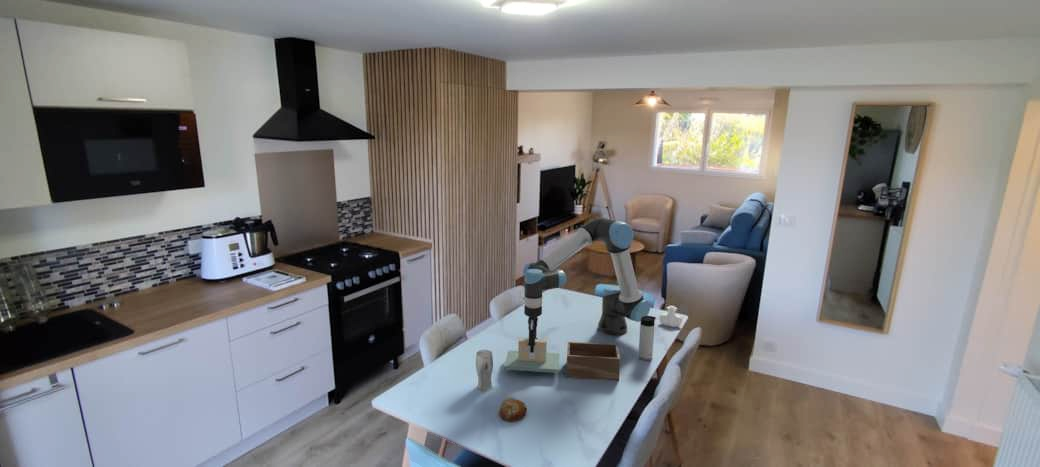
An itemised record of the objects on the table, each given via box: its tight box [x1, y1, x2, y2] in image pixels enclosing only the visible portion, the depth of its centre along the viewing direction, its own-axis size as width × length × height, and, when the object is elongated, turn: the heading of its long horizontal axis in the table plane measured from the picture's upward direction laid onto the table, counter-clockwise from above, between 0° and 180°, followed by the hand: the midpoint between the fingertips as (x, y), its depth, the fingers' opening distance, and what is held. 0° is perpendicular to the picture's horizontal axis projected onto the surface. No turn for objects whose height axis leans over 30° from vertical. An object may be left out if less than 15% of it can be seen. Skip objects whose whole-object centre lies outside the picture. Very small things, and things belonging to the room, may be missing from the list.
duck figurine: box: [658, 305, 683, 328], centre depth 261 cm, size 12×8×11 cm
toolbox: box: [566, 341, 621, 382], centre depth 210 cm, size 14×22×10 cm, turn 83°
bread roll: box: [498, 397, 528, 423], centre depth 179 cm, size 10×10×8 cm
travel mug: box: [638, 315, 657, 361], centre depth 222 cm, size 6×7×20 cm
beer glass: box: [475, 349, 494, 392], centre depth 196 cm, size 7×7×15 cm
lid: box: [503, 337, 560, 374], centre depth 210 cm, size 15×23×10 cm, turn 83°
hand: (532, 356), depth 211 cm, fingers closed on lid, 3 cm apart
